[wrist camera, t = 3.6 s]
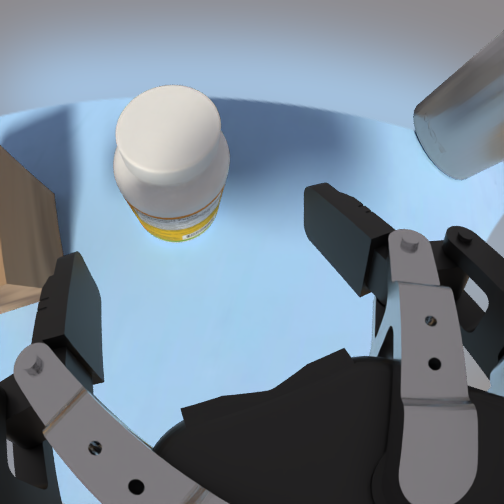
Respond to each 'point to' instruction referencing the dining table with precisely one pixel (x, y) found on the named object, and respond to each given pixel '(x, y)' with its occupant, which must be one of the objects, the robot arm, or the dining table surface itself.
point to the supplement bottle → (171, 161)
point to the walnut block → (25, 235)
